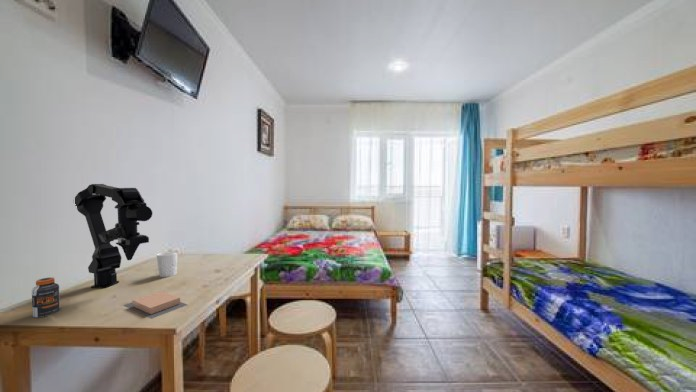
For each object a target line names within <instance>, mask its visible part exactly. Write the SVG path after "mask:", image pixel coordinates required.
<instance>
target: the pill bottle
mask: <svg viewBox="0 0 696 392" xmlns="http://www.w3.org/2000/svg"><path fill="white" fill-rule="evenodd" d="M60 300H61V299H60V285H59V284H58V283H55V277H43V278H39V279H37V280H36V281H35V286H34V287H33V288H32V289H31V302H32V304H31V305H32V307H31V308H32V317H34V318H44V316H45V317H48V315H49V316H51V315H52V314H55V313H58V312H59V311H61V301H60Z"/></svg>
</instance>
